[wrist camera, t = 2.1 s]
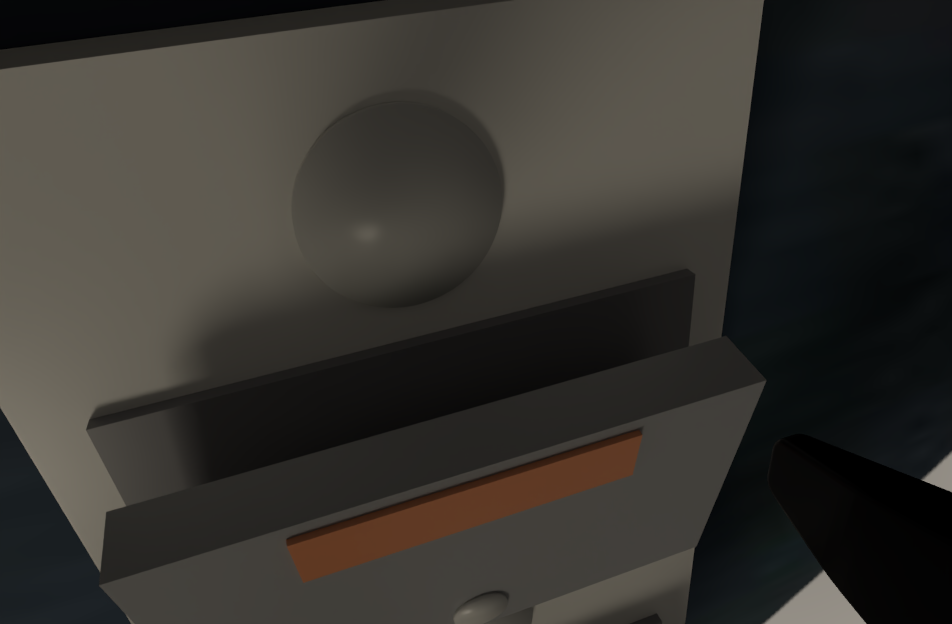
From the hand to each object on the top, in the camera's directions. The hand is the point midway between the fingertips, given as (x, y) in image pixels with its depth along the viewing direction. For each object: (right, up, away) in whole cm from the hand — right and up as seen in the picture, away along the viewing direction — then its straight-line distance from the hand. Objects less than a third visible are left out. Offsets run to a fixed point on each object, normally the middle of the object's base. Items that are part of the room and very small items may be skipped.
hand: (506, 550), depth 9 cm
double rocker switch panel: (-2, -4, +11) cm, 11 cm away
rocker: (-1, -1, +4) cm, 4 cm away
